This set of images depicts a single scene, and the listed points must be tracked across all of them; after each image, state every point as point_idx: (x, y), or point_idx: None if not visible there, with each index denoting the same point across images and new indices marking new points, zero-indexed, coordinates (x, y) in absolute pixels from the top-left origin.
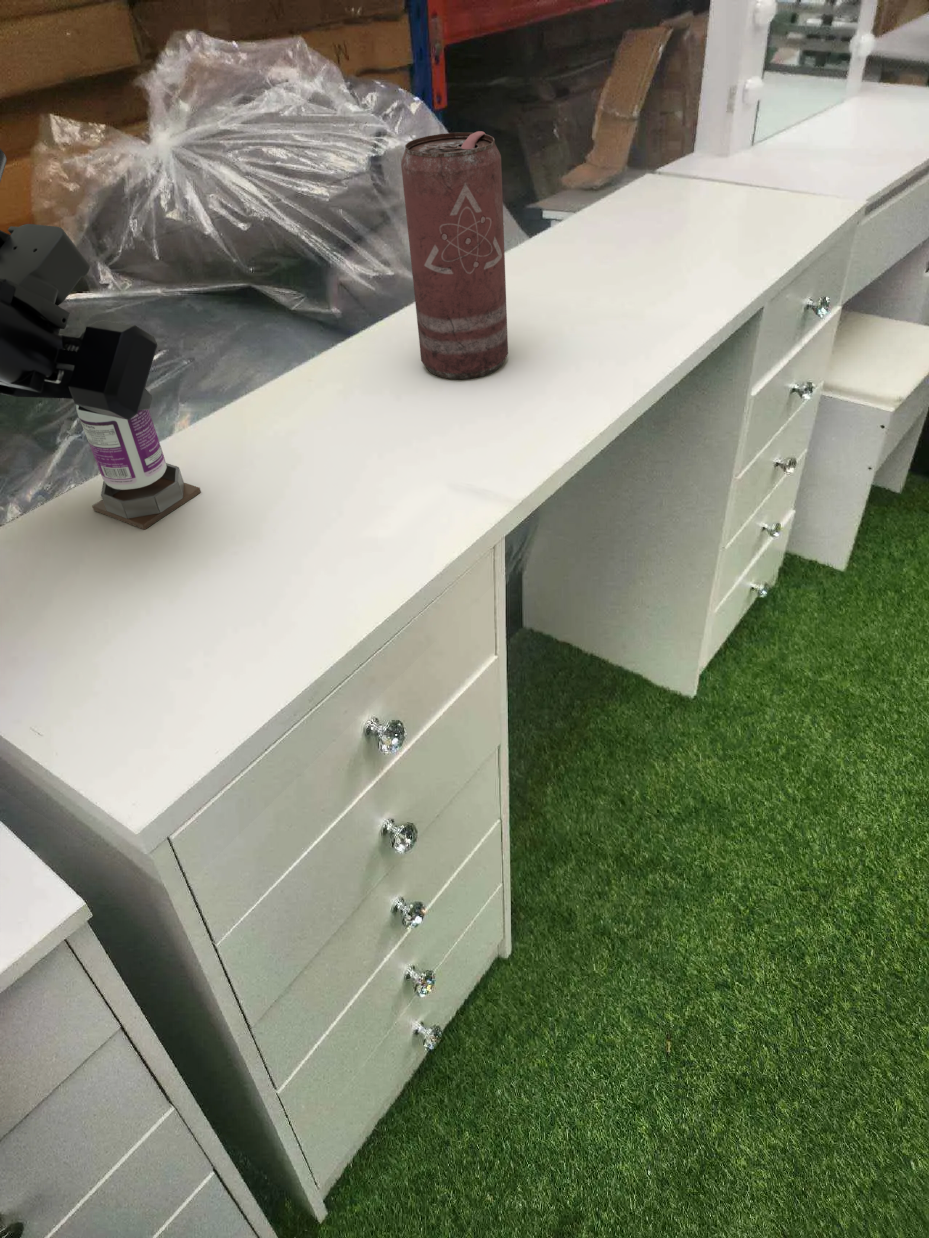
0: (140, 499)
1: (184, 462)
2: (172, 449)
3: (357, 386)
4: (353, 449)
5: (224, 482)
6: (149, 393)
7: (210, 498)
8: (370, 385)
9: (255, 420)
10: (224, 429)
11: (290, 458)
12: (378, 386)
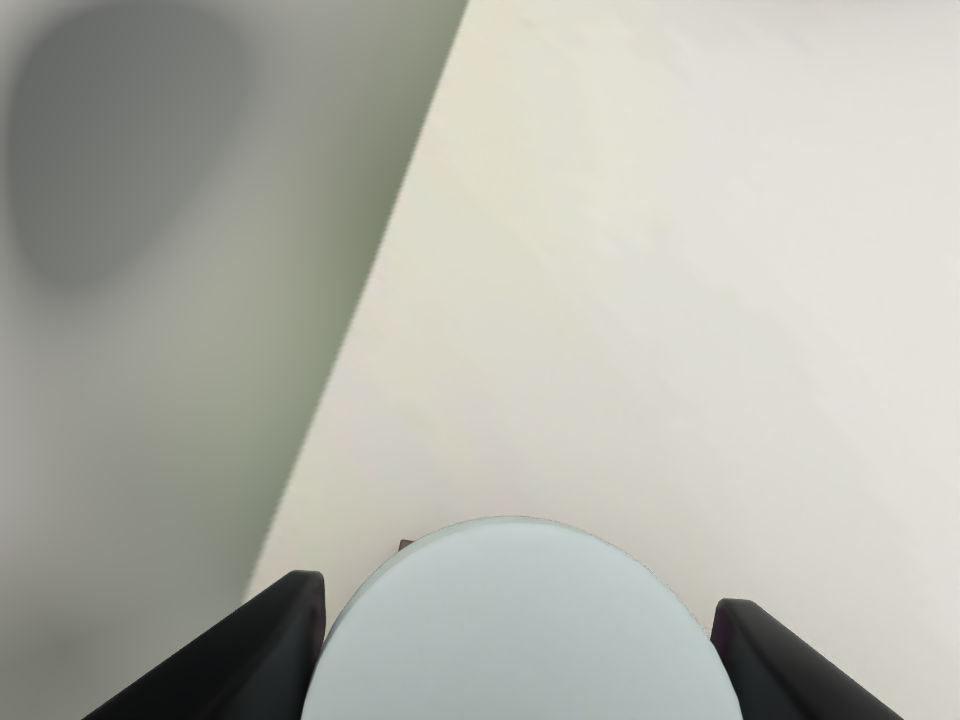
0: None
1: (460, 442)
2: (374, 389)
3: (663, 22)
4: (882, 257)
5: (664, 506)
6: (778, 622)
7: (690, 604)
8: (690, 12)
9: (516, 201)
10: (460, 259)
11: (754, 338)
12: (712, 12)
